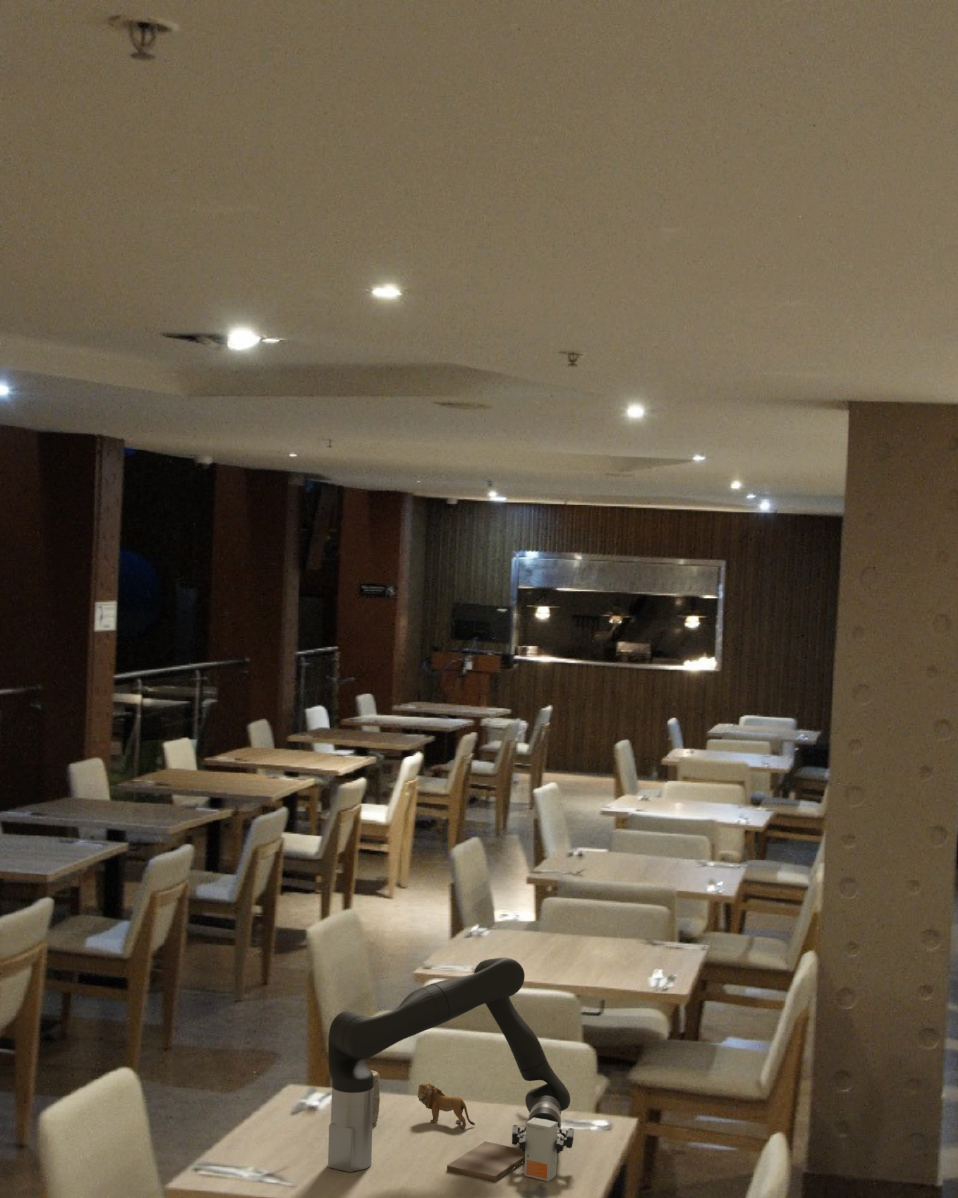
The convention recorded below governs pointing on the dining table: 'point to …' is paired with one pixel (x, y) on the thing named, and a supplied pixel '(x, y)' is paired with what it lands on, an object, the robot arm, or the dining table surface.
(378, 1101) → the carving
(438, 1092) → the lion figurine
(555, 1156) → the skincare box
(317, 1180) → the dining table surface
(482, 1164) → the walnut board
